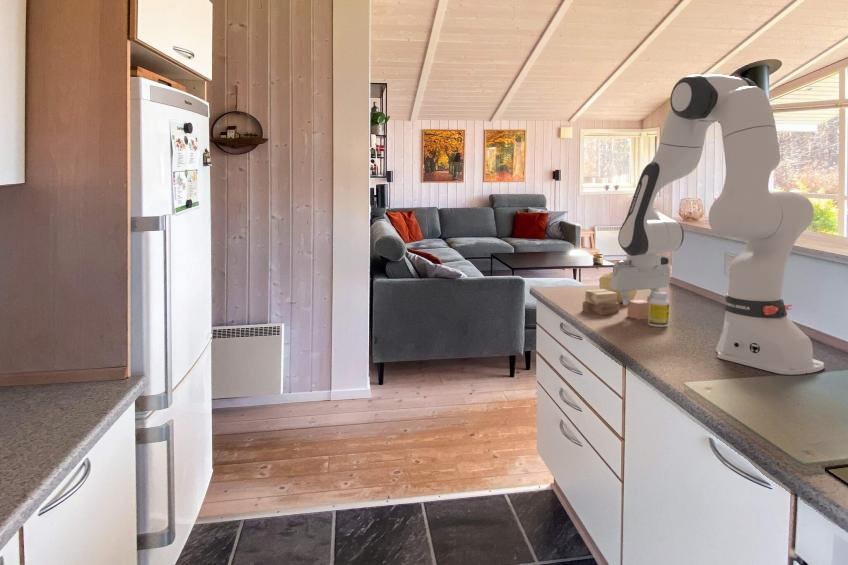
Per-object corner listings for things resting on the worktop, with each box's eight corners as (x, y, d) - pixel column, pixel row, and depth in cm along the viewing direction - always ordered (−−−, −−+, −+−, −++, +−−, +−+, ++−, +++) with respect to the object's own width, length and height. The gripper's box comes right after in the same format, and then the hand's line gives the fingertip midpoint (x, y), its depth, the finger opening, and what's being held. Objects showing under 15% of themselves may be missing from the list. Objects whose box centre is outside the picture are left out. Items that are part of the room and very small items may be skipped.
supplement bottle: (669, 327, 164) (671, 294, 162) (649, 327, 165) (651, 293, 163) (665, 323, 169) (667, 290, 168) (646, 322, 170) (648, 290, 169)
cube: (651, 318, 176) (652, 302, 175) (638, 320, 174) (639, 304, 173) (640, 315, 180) (640, 299, 179) (627, 316, 179) (628, 300, 178)
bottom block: (618, 313, 184) (619, 302, 183) (601, 316, 180) (602, 306, 179) (599, 309, 191) (599, 298, 190) (582, 312, 186) (582, 301, 186)
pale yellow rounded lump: (593, 299, 204) (594, 270, 202) (619, 296, 208) (620, 267, 207) (616, 306, 193) (618, 274, 191) (643, 302, 198) (644, 271, 196)
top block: (616, 303, 182) (616, 293, 181) (596, 305, 180) (597, 294, 180) (604, 299, 189) (604, 289, 188) (585, 300, 187) (585, 290, 186)
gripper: (621, 263, 168) (618, 308, 170) (675, 258, 175) (671, 302, 178) (606, 260, 173) (604, 304, 176) (659, 256, 181) (656, 298, 183)
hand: (638, 303), depth 177 cm, fingers open, 8 cm apart
